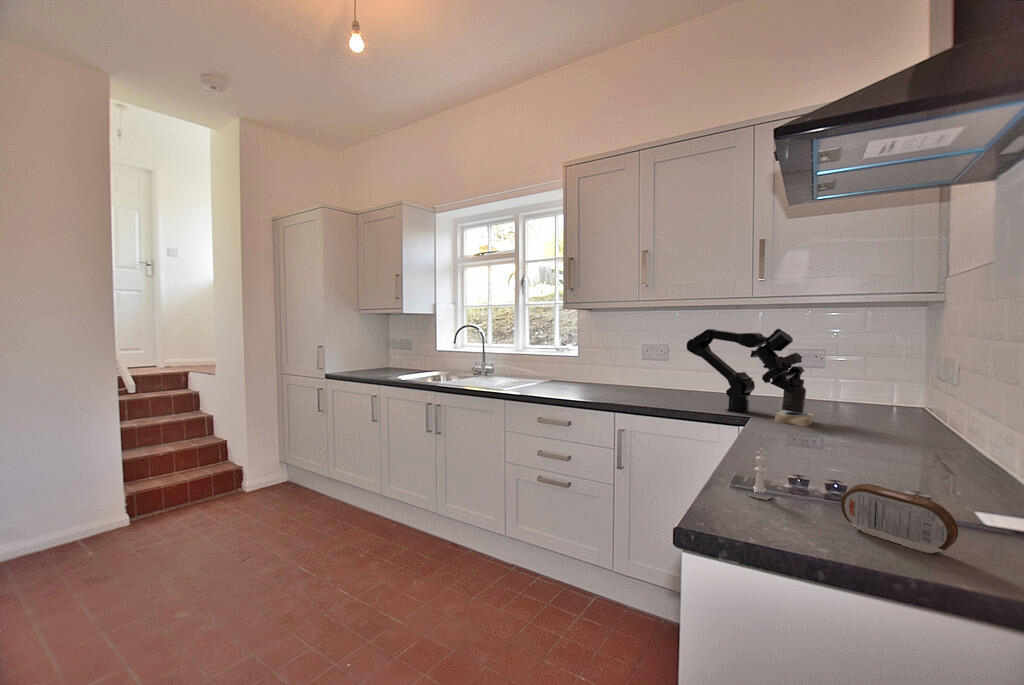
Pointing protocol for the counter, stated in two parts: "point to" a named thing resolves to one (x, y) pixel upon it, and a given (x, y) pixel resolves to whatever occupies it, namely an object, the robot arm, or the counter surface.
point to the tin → (900, 515)
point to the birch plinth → (794, 418)
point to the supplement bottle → (794, 397)
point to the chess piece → (760, 472)
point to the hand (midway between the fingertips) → (799, 392)
